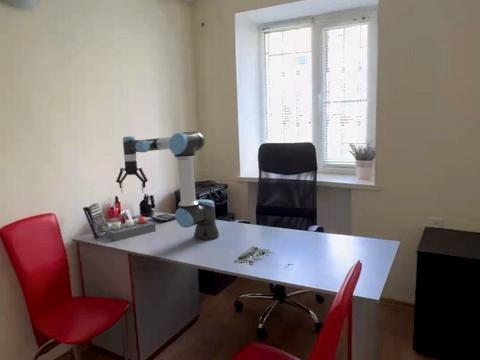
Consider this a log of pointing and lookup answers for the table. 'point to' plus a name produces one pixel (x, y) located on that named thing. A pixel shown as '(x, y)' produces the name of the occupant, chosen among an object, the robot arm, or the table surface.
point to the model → (251, 252)
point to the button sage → (116, 226)
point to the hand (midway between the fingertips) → (133, 192)
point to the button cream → (129, 223)
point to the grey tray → (129, 230)
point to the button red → (142, 220)
